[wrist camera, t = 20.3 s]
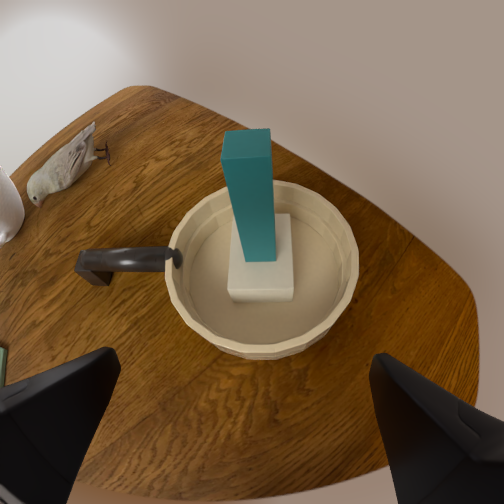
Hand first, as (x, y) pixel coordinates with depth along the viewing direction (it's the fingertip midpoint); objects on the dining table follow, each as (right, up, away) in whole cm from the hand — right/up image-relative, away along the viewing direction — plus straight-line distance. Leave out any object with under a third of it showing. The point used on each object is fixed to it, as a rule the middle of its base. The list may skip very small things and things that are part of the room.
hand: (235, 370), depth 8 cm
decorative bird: (-28, +15, +27) cm, 42 cm away
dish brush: (+2, +3, +16) cm, 17 cm away
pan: (+2, +2, +16) cm, 17 cm away
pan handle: (-10, +1, +18) cm, 21 cm away
